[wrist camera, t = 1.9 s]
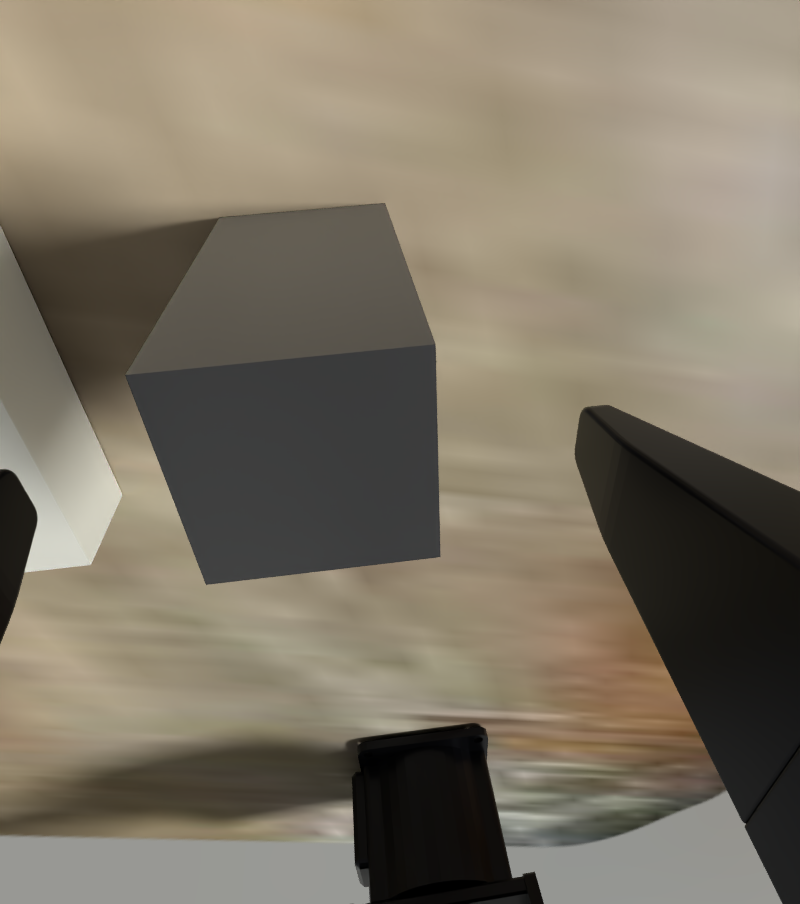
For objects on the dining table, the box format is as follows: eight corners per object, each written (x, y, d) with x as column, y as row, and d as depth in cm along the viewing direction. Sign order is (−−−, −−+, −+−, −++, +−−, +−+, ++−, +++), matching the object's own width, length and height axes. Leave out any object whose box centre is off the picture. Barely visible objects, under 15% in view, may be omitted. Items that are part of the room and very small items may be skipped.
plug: (384, 203, 14) (435, 344, 7) (395, 352, 16) (440, 557, 10) (219, 217, 14) (125, 375, 7) (254, 366, 16) (206, 584, 10)
